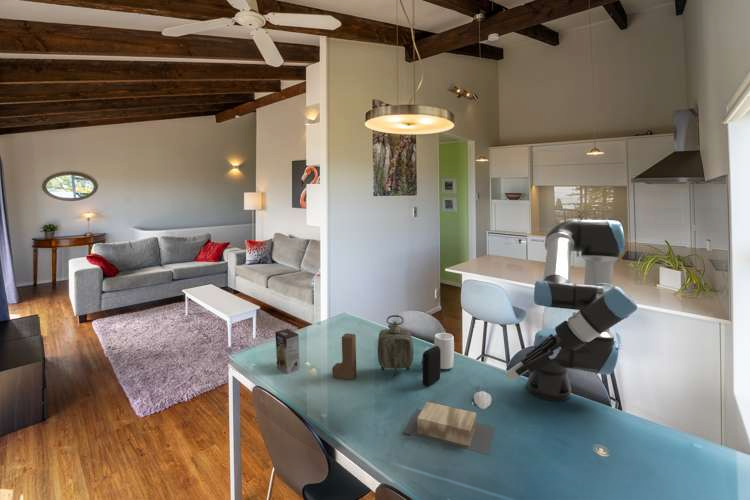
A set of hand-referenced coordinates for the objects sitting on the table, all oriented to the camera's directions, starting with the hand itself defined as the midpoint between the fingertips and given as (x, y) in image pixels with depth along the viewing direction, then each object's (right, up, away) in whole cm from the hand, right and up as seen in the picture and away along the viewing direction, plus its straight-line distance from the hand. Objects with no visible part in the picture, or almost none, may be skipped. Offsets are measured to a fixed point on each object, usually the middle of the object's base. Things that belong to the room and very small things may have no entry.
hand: (508, 376), depth 113 cm
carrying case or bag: (-18, -16, +38) cm, 44 cm away
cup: (-10, -13, +52) cm, 54 cm away
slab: (-10, -17, +4) cm, 20 cm away
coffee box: (-77, -14, +53) cm, 94 cm away
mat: (-16, -20, +8) cm, 27 cm away
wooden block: (-52, -15, +45) cm, 70 cm away
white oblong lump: (-1, -18, +25) cm, 30 cm away
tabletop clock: (-31, -14, +47) cm, 58 cm away
